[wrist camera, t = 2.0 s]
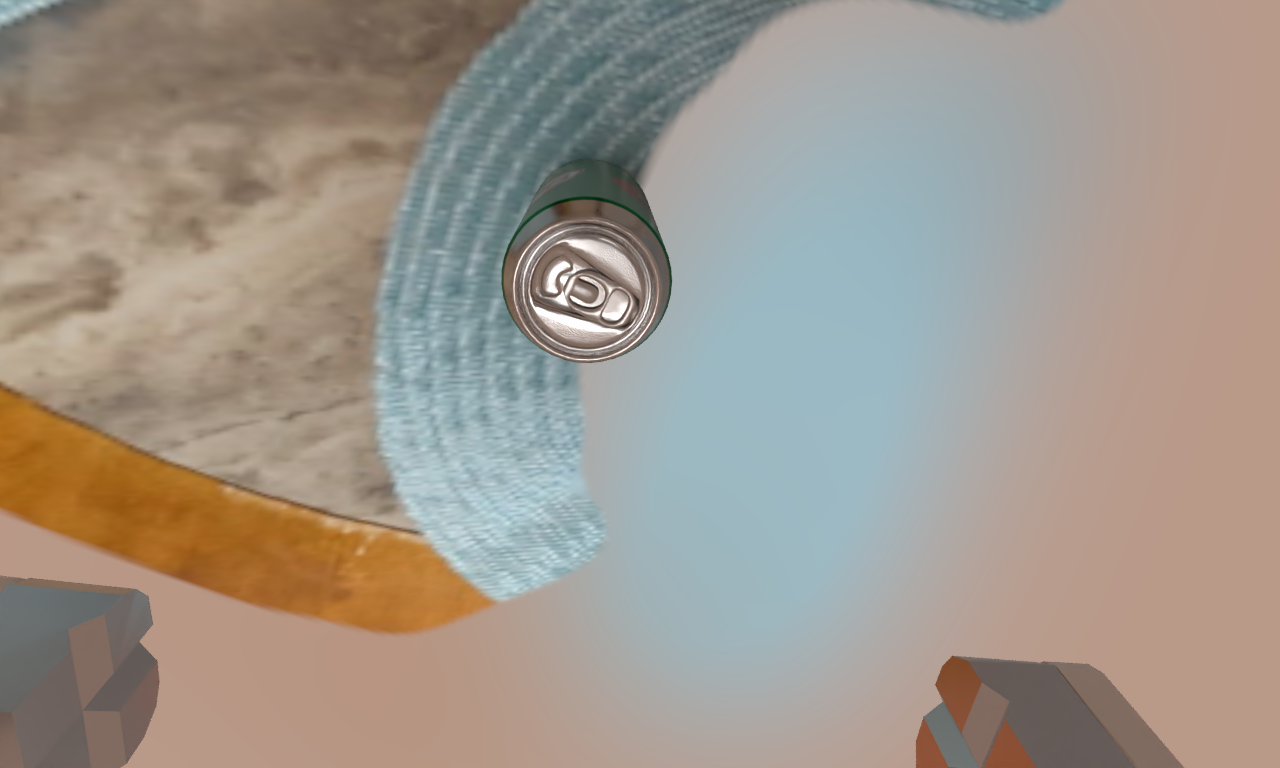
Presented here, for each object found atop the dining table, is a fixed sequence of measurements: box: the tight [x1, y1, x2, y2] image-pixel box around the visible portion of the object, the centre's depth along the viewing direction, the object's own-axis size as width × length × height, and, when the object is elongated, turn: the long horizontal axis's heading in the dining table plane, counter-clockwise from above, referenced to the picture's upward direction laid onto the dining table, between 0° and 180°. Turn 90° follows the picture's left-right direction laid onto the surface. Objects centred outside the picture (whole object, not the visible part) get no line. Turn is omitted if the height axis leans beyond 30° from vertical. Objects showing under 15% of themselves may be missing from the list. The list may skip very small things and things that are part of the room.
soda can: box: [502, 159, 672, 363], centre depth 27 cm, size 5×5×12 cm
